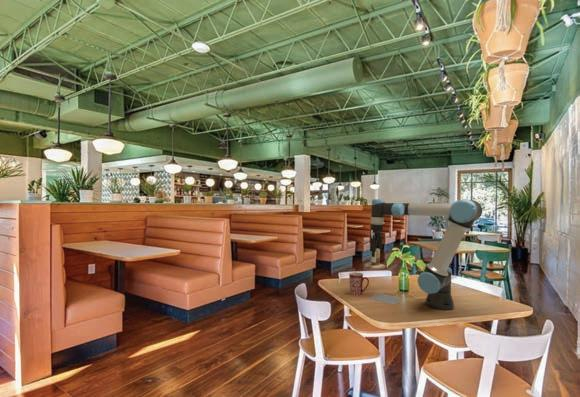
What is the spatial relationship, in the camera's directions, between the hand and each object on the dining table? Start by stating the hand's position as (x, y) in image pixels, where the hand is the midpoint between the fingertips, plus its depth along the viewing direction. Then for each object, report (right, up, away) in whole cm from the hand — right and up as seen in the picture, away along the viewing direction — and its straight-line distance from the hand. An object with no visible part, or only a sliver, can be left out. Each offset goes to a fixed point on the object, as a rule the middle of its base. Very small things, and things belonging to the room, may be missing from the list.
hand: (375, 261), depth 199 cm
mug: (-10, -23, +4) cm, 25 cm away
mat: (+5, -23, -4) cm, 24 cm away
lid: (0, -3, 0) cm, 3 cm away
